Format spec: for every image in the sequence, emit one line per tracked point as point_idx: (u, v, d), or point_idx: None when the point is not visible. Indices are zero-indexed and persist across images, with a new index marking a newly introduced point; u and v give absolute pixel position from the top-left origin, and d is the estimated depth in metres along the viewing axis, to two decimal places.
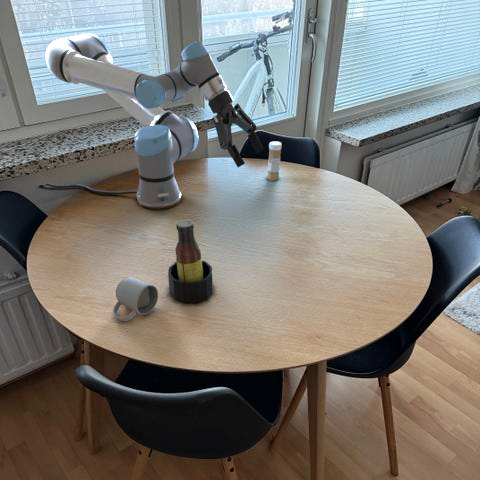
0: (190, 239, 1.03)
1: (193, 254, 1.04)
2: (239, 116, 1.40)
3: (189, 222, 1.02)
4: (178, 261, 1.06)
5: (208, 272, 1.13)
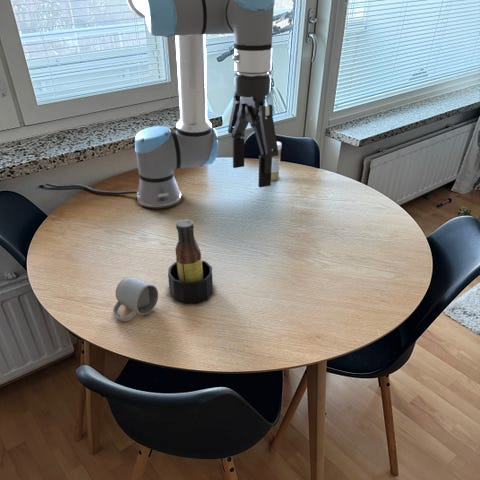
0: (190, 239, 1.03)
1: (193, 254, 1.04)
2: (251, 121, 0.92)
3: (189, 222, 1.02)
4: (178, 261, 1.06)
5: (208, 272, 1.13)
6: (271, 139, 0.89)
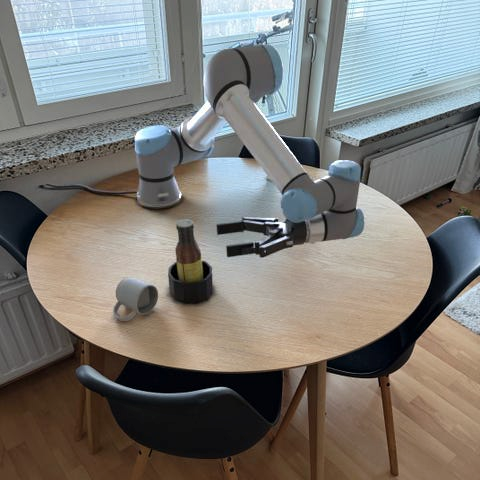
0: (190, 239, 1.03)
1: (193, 254, 1.04)
2: None
3: (189, 222, 1.02)
4: (178, 261, 1.06)
5: (208, 272, 1.13)
6: None
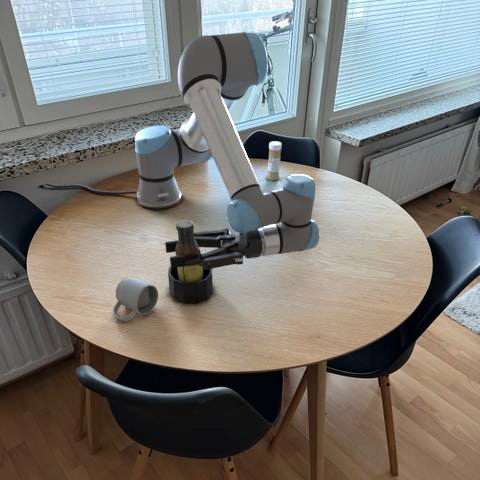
0: (190, 239, 1.03)
1: None
2: None
3: (189, 222, 1.02)
4: None
5: (208, 272, 1.13)
6: None
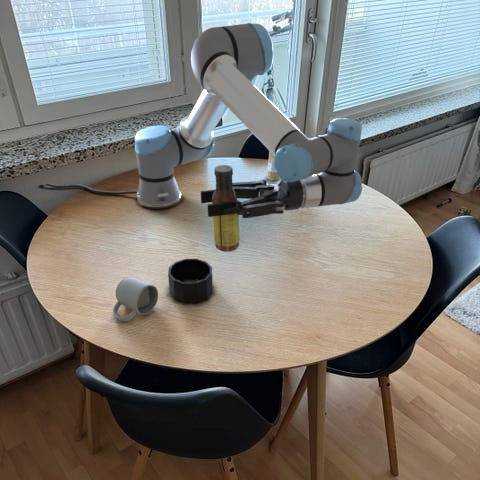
0: (229, 186, 0.97)
1: None
2: None
3: (228, 167, 0.96)
4: None
5: (208, 272, 1.13)
6: None
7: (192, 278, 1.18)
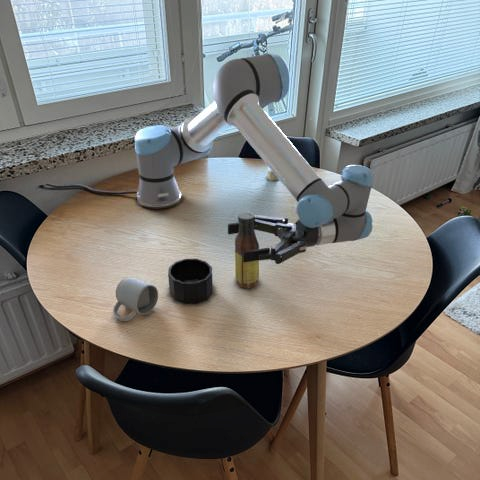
0: (251, 231, 1.06)
1: (253, 245, 1.08)
2: None
3: (250, 214, 1.05)
4: (237, 252, 1.10)
5: (208, 272, 1.13)
6: None
7: (192, 278, 1.18)
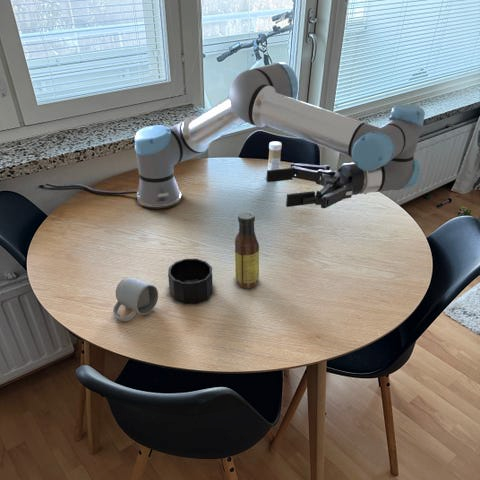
0: (251, 231, 1.06)
1: (253, 245, 1.08)
2: None
3: (250, 214, 1.05)
4: (237, 252, 1.10)
5: (208, 272, 1.13)
6: None
7: (192, 278, 1.18)
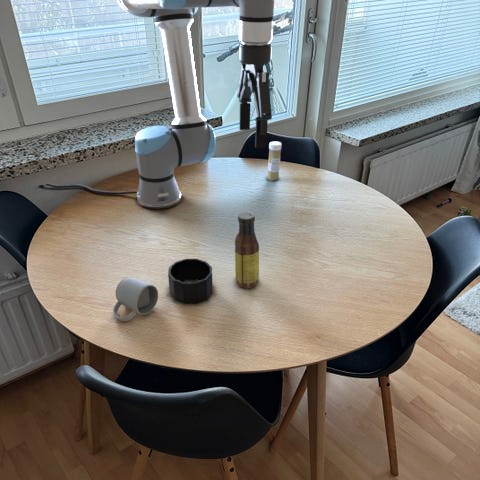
0: (251, 231, 1.06)
1: (253, 245, 1.08)
2: None
3: (250, 214, 1.05)
4: (237, 252, 1.10)
5: (208, 272, 1.13)
6: None
7: (192, 278, 1.18)
